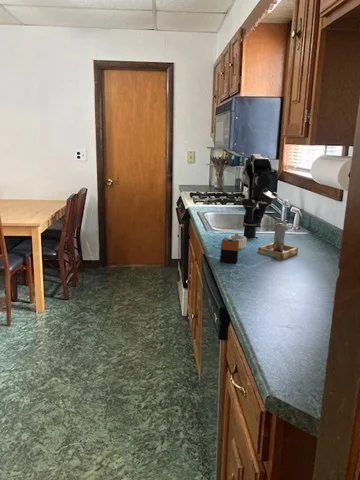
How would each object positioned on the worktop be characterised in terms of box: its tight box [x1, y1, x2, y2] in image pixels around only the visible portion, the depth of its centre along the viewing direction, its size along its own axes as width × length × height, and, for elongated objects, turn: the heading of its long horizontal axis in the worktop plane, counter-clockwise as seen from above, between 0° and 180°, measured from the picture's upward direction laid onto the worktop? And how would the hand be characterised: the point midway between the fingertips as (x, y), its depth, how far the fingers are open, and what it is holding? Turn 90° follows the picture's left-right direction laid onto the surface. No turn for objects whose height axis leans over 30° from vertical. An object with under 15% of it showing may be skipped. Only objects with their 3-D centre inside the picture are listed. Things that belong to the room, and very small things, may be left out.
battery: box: [219, 237, 239, 265], centre depth 166 cm, size 4×7×10 cm, turn 77°
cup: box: [227, 234, 248, 250], centre depth 188 cm, size 8×8×5 cm
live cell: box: [273, 222, 287, 253], centre depth 179 cm, size 4×4×13 cm
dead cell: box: [234, 232, 242, 239], centre depth 188 cm, size 3×3×6 cm
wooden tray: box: [257, 242, 299, 261], centre depth 181 cm, size 14×12×3 cm
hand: (256, 219), depth 188 cm, fingers open, 9 cm apart
